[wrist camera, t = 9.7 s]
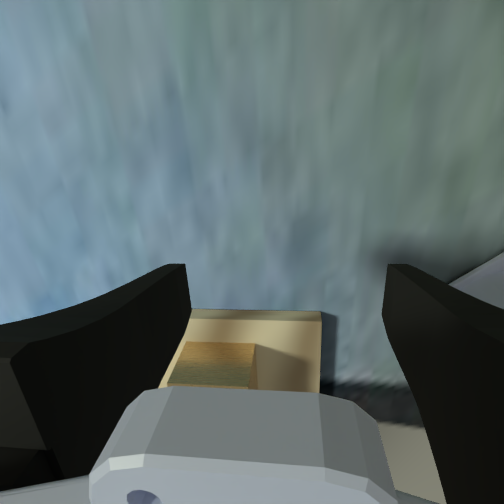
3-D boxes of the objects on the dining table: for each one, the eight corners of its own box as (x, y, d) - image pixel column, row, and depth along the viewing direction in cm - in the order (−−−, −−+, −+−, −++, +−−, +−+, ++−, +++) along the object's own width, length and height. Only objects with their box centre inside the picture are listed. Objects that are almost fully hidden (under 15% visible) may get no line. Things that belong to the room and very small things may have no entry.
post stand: (320, 311, 23) (326, 355, 19) (317, 407, 26) (321, 461, 22) (129, 307, 25) (97, 347, 21) (150, 397, 28) (125, 446, 24)
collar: (254, 343, 23) (247, 386, 20) (258, 396, 25) (252, 445, 21) (186, 341, 24) (166, 383, 20) (194, 393, 26) (178, 440, 22)
